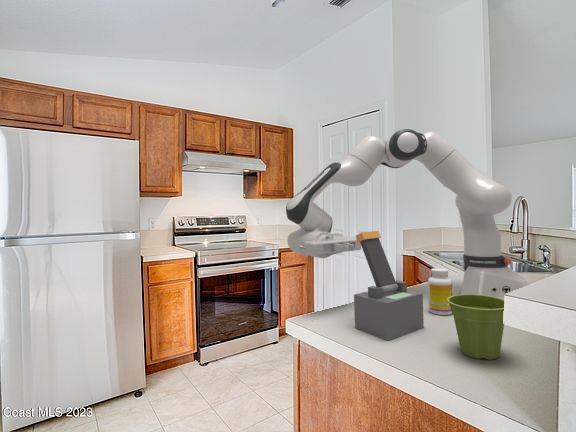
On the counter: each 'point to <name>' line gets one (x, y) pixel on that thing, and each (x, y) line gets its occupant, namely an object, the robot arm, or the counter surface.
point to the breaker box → (389, 311)
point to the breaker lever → (377, 261)
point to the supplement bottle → (439, 292)
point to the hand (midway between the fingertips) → (350, 247)
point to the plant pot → (478, 324)
